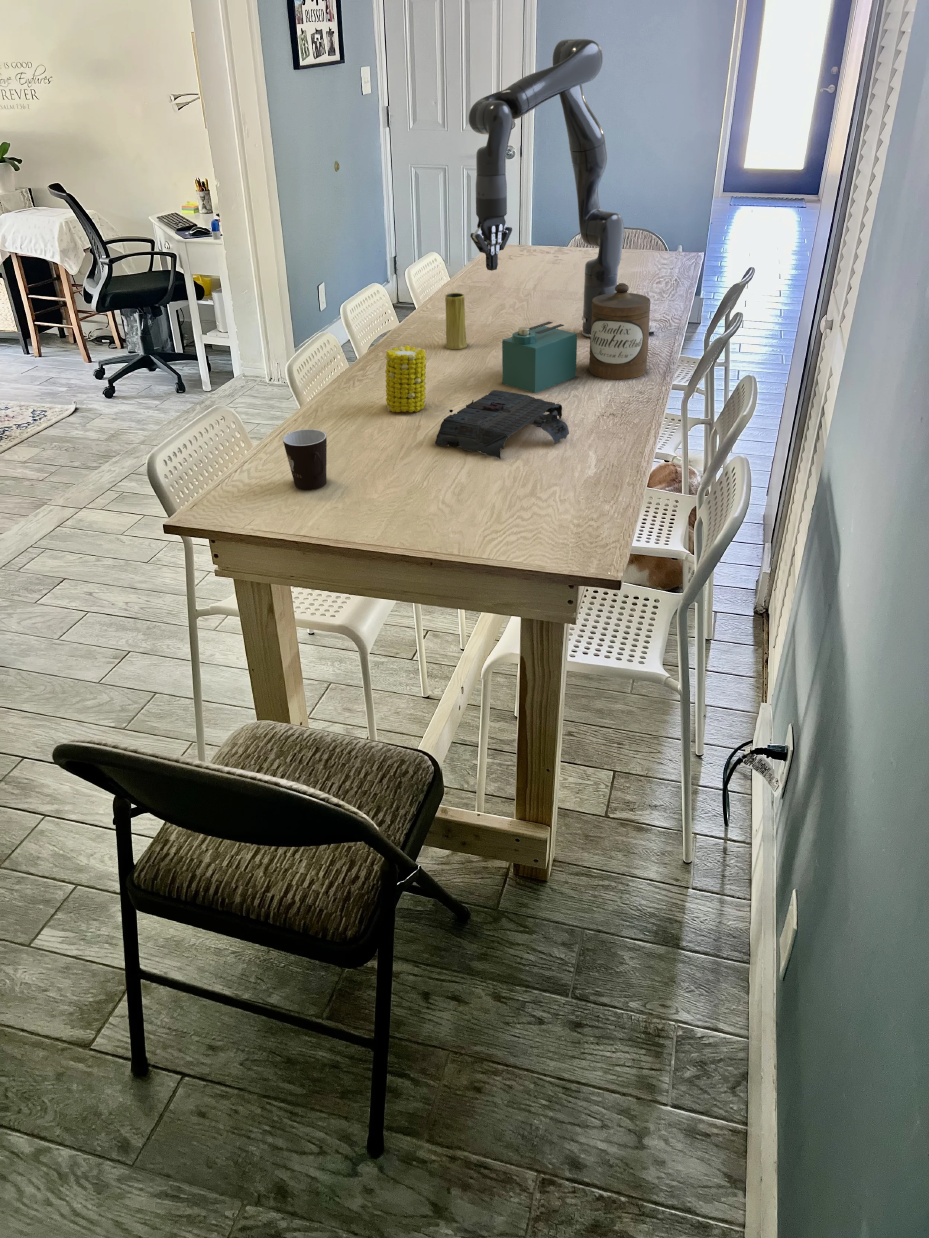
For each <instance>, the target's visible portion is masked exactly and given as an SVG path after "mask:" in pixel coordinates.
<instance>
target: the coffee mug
mask: <svg viewBox="0 0 929 1238" xmlns="http://www.w3.org/2000/svg"><path fill="white" fill-rule="evenodd" d="M327 437H328V435H327V433H326V432H325V431H323V430H321V429H315V428H305V429H304V428H303V429H297V430H293V431H289V432H288V433H286V434H285V435H284V436H283V437H282V442H283V446H284V449H285V453H286V458H287V461H288V464H289V469H290V472H291V475H292V480H293V483H294V487H295V488H296V489H297V490H301V491H316V490H319V489H322V488H323V487H325V486H326V485H327V464H328V463H327V460H328V459H327V458H328V457H327V456H328V455H327V454H328V453H327V447H328V446H327V440H328V439H327Z"/></svg>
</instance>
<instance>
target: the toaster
mask: <svg viewBox="0 0 929 1238" xmlns="http://www.w3.org/2000/svg"><path fill="white" fill-rule="evenodd" d="M550 327H551V326H548V325H545V326H542V327H539V328H536V329H533V330H530V331H529V335H528V336H520V335H519V330H518V331H515V332H513V333H512V335H511V336H510V337H507V338H504V339H502V340H501V343H502V344H501V360H502V361H501V362H502V365H501V369H502V371H501V372H502V376H501V377H502V385H505V386H509V387H512V388H516V389H520V390H523V391H526V392H530V393H532V394H533V393H534V394H536V393H539V392H541V391H544V390H546V389H549V388H551V387H554V386H557V385H559V384H562V383H564V382H567V381H569V380H572V379H574V378H576V377H577V357H578V355H577V352H578V333H577V332H572V331H568V330H565V329H559V328H556V329H553V330H550V331H547V332H544V333H541V334H538V333H535V332H538V331H541V330H544V329H547V328H550Z"/></svg>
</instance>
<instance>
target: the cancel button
mask: <svg viewBox="0 0 929 1238" xmlns="http://www.w3.org/2000/svg"><path fill="white" fill-rule="evenodd" d="M529 328H530V327H528V326H521V327H518V331H519V335H520V336H528V335H529Z"/></svg>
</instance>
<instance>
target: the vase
mask: <svg viewBox="0 0 929 1238" xmlns="http://www.w3.org/2000/svg"><path fill="white" fill-rule="evenodd" d="M444 299H445V300H444V301H445V302H444V303H445V348H447V349H449V350H462V349H466V348H467V347H468V341H467V331H466V308H465V305H466V304H465V294H464V293H461V292H450V293H447V294H445V297H444Z"/></svg>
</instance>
